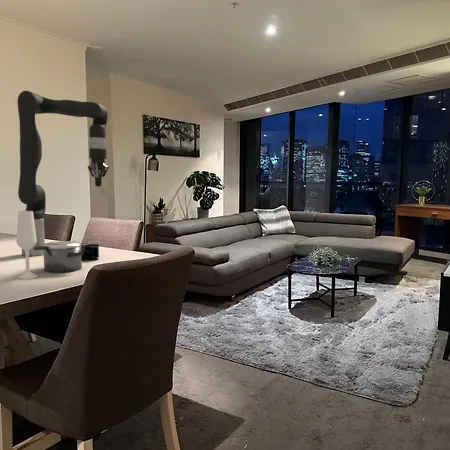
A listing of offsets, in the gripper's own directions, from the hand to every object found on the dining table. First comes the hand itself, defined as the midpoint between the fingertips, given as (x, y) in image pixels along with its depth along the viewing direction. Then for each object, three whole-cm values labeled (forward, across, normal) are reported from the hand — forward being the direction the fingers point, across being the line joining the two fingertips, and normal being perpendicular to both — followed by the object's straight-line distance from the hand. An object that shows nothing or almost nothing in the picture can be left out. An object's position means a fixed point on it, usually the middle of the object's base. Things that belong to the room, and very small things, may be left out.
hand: (98, 186), depth 185 cm
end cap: (+33, +1, -7) cm, 34 cm away
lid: (+24, +11, -28) cm, 38 cm away
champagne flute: (+33, +13, -41) cm, 55 cm away
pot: (+33, +11, -26) cm, 43 cm away
